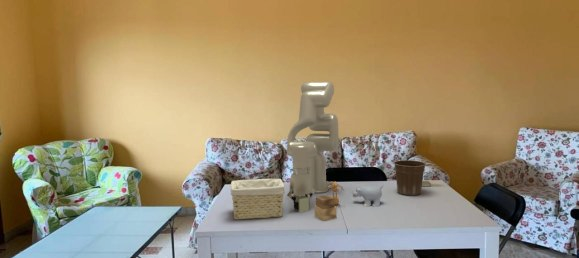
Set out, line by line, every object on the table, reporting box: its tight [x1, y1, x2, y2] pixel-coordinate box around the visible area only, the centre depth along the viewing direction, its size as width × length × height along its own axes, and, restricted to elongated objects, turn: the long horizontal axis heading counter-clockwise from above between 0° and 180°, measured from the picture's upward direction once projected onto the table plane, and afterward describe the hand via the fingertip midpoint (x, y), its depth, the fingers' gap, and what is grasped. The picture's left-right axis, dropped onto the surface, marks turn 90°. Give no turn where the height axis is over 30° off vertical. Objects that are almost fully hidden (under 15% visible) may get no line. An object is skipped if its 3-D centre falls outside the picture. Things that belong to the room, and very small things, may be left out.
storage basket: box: [230, 178, 285, 220], centre depth 178 cm, size 24×16×15 cm
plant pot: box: [393, 159, 427, 197], centre depth 205 cm, size 16×16×16 cm
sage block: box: [294, 195, 310, 213], centre depth 183 cm, size 5×5×6 cm
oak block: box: [314, 204, 338, 221], centre depth 173 cm, size 7×7×5 cm
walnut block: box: [315, 194, 336, 209], centre depth 172 cm, size 6×6×4 cm
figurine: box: [327, 181, 345, 206], centre depth 188 cm, size 8×6×12 cm
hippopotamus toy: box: [352, 183, 385, 207], centre depth 191 cm, size 11×15×10 cm
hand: (301, 208), depth 183 cm, fingers closed on sage block, 5 cm apart
